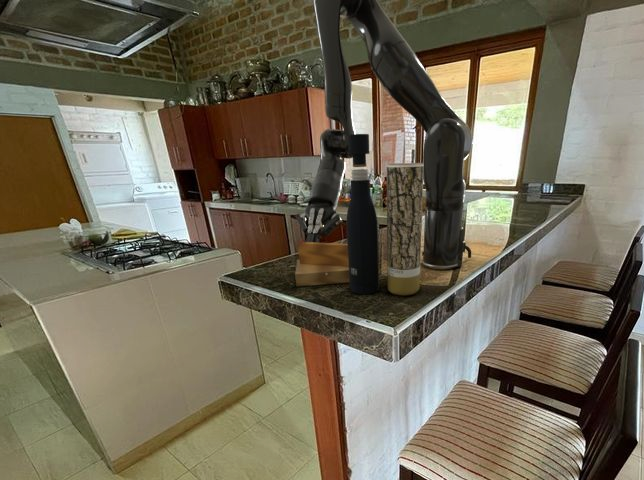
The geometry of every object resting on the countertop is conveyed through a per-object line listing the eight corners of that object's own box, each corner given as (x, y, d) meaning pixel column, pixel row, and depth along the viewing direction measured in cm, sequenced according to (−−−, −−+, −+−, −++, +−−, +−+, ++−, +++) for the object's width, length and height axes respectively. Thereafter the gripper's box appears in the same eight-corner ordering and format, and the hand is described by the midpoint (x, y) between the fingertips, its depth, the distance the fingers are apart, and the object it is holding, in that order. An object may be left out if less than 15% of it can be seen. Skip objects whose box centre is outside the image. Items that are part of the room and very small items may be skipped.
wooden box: (357, 263, 91) (356, 252, 90) (365, 285, 76) (365, 271, 74) (293, 268, 89) (291, 256, 88) (288, 291, 74) (286, 277, 72)
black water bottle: (380, 284, 76) (377, 134, 63) (377, 294, 70) (374, 132, 57) (352, 283, 77) (343, 136, 64) (347, 294, 71) (337, 134, 58)
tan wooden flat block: (351, 264, 80) (350, 242, 78) (349, 266, 79) (348, 244, 76) (302, 261, 83) (300, 240, 81) (299, 263, 82) (297, 242, 80)
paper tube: (410, 299, 68) (414, 163, 57) (381, 293, 71) (379, 164, 60) (424, 288, 73) (429, 162, 62) (396, 283, 76) (397, 163, 65)
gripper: (297, 182, 87) (280, 239, 82) (345, 181, 84) (330, 241, 78) (308, 200, 94) (293, 254, 89) (353, 201, 91) (339, 257, 85)
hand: (310, 248), depth 84 cm, fingers closed
